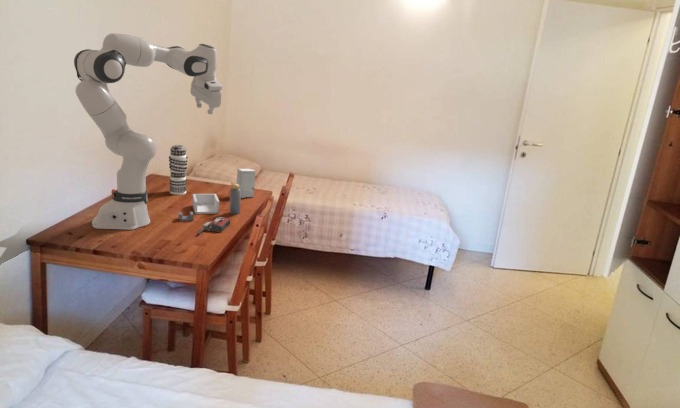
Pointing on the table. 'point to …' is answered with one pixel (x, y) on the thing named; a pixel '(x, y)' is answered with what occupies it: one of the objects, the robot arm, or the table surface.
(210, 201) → the box
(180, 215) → the cable clip
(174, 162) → the decorative candle
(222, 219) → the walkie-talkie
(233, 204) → the grey bottle
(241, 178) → the skincare box
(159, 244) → the table surface
